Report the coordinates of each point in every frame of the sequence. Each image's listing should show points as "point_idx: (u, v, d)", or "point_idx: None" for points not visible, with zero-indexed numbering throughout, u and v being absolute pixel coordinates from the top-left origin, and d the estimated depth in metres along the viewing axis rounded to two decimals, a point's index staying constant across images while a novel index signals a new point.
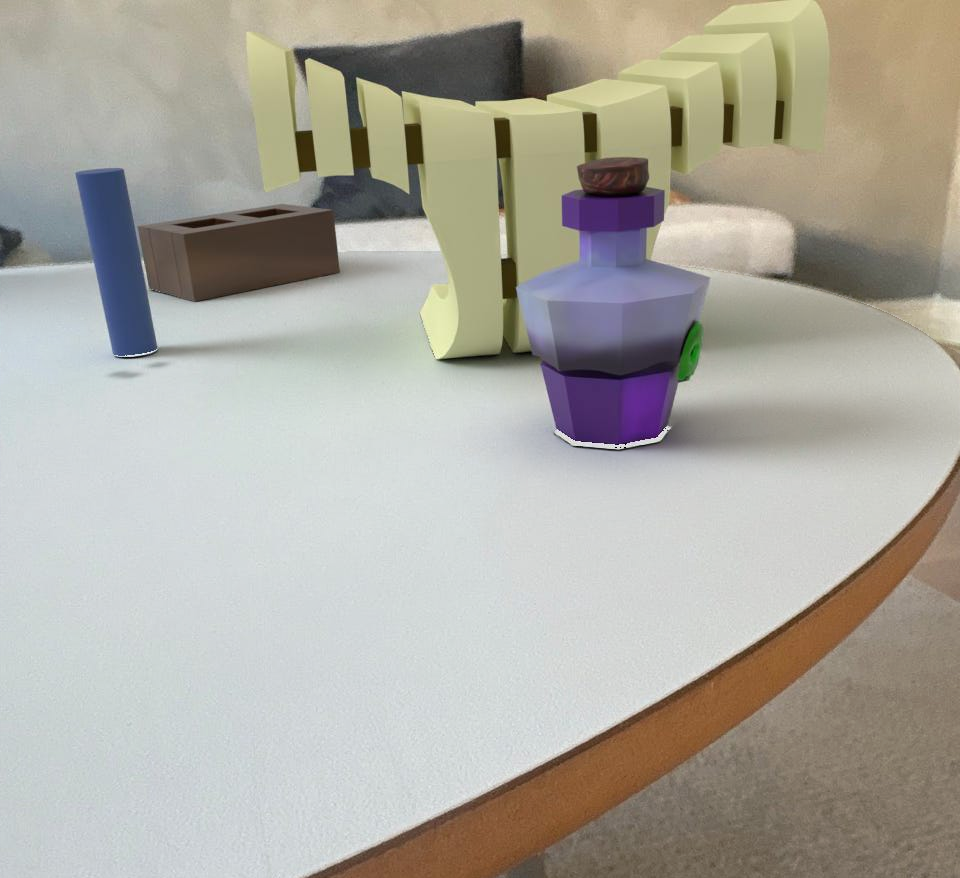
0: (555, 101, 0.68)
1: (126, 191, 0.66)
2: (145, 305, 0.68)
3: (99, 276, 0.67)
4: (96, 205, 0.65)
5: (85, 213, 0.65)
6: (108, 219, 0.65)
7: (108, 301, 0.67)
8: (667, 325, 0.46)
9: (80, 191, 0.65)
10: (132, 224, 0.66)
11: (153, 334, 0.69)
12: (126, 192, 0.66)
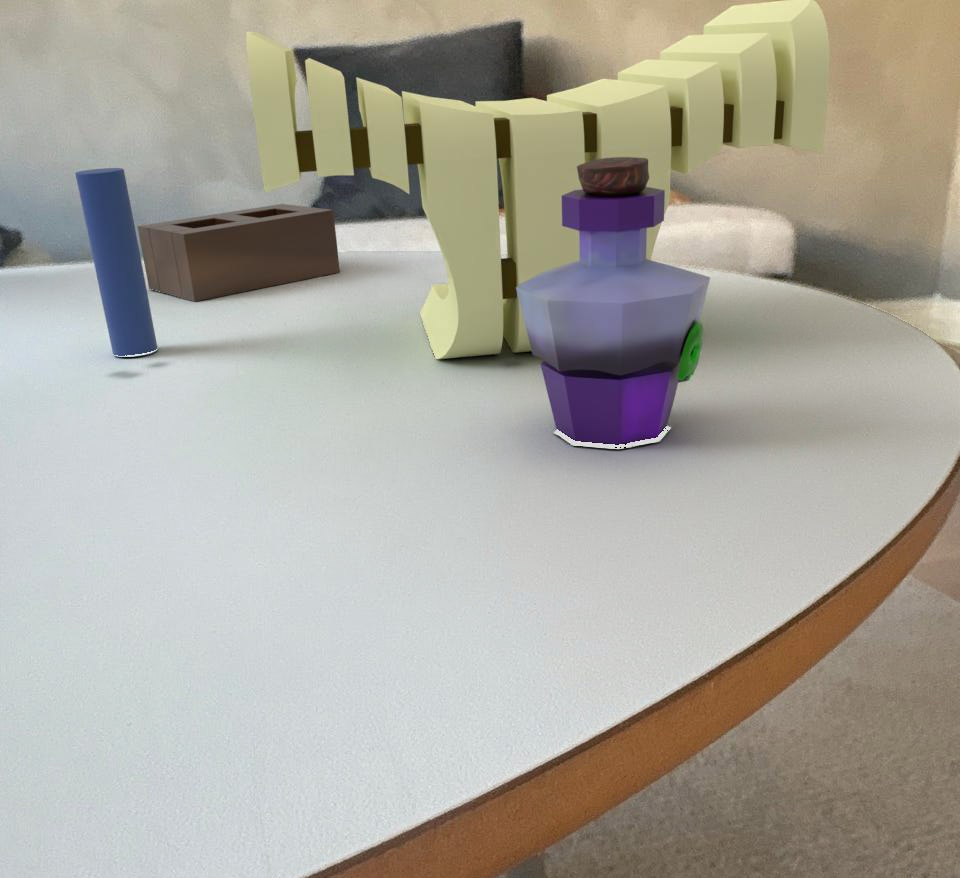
0: (555, 101, 0.68)
1: (126, 191, 0.66)
2: (145, 305, 0.68)
3: (99, 276, 0.67)
4: (96, 205, 0.65)
5: (85, 213, 0.65)
6: (108, 219, 0.65)
7: (108, 301, 0.67)
8: (667, 325, 0.46)
9: (80, 191, 0.65)
10: (132, 224, 0.66)
11: (153, 334, 0.69)
12: (126, 192, 0.66)
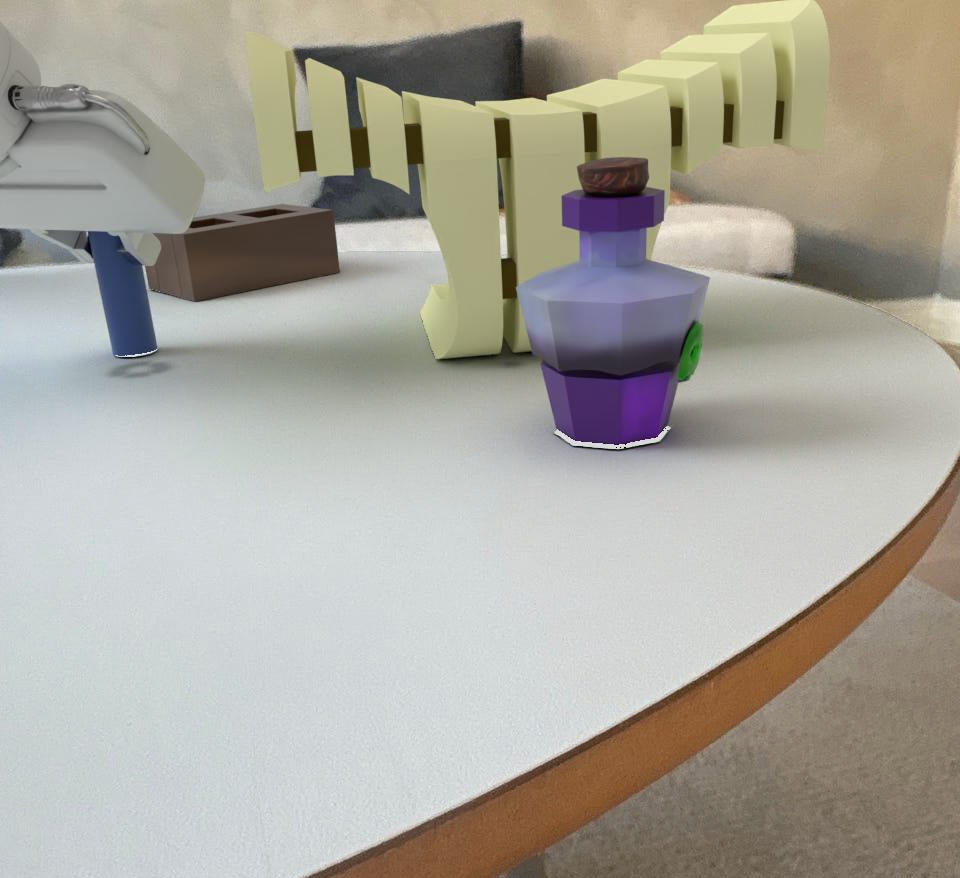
0: (555, 101, 0.68)
1: None
2: (145, 305, 0.68)
3: (99, 276, 0.67)
4: None
5: None
6: None
7: (108, 301, 0.67)
8: (667, 325, 0.46)
9: None
10: None
11: (153, 334, 0.69)
12: None
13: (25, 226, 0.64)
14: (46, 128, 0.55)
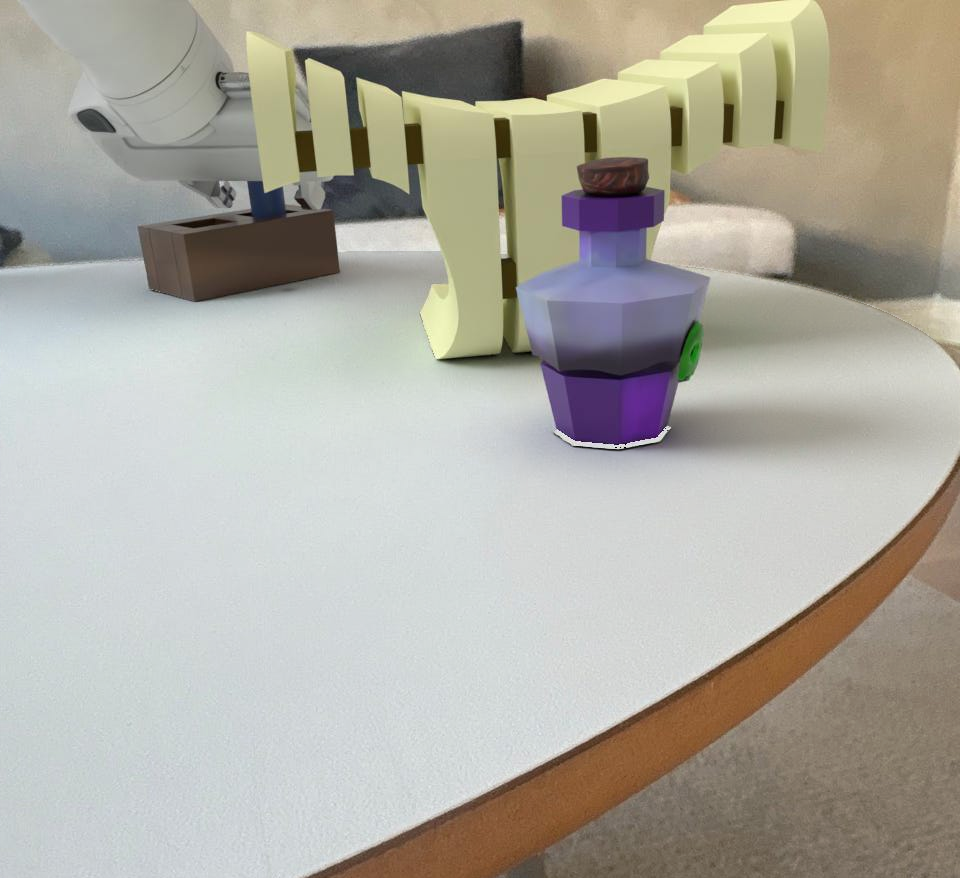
0: (555, 101, 0.68)
1: None
2: None
3: (254, 214, 0.89)
4: None
5: None
6: None
7: None
8: (667, 325, 0.46)
9: None
10: None
11: None
12: None
13: (204, 178, 0.86)
14: (240, 102, 0.77)
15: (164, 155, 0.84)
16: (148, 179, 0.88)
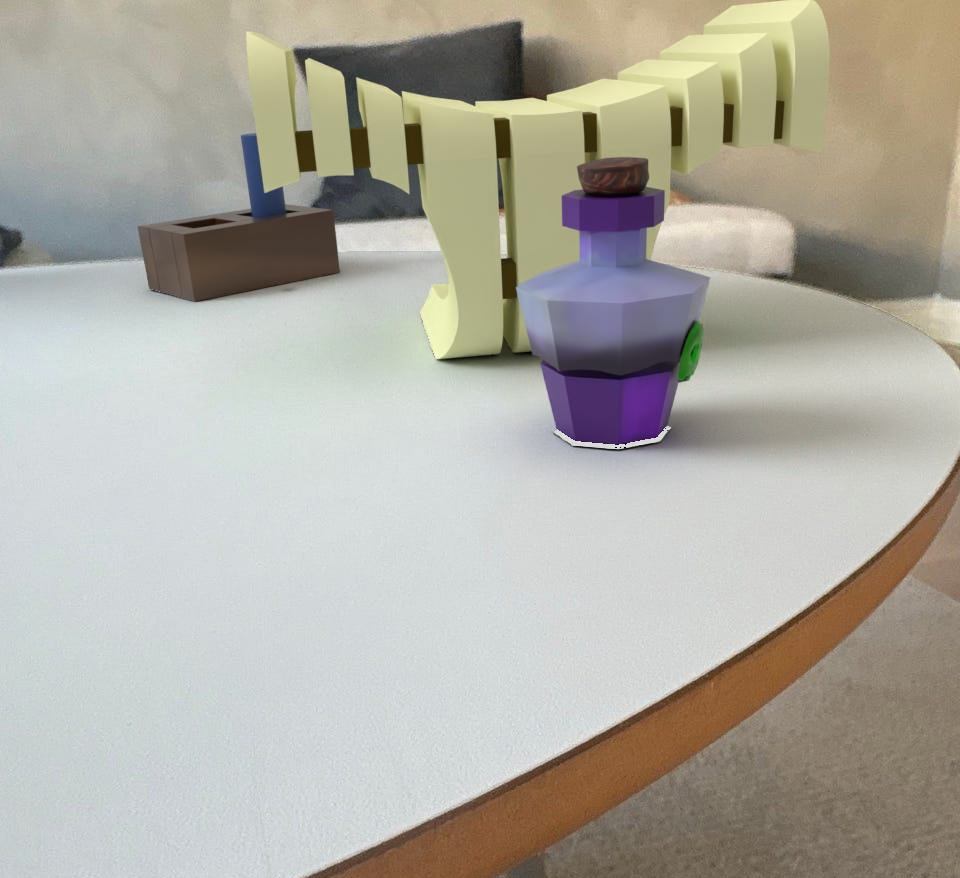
0: (555, 101, 0.68)
1: None
2: None
3: (254, 214, 0.89)
4: (257, 159, 0.86)
5: (247, 166, 0.87)
6: None
7: None
8: (667, 325, 0.46)
9: (244, 149, 0.86)
10: None
11: None
12: None
13: None
14: None
15: None
16: None
